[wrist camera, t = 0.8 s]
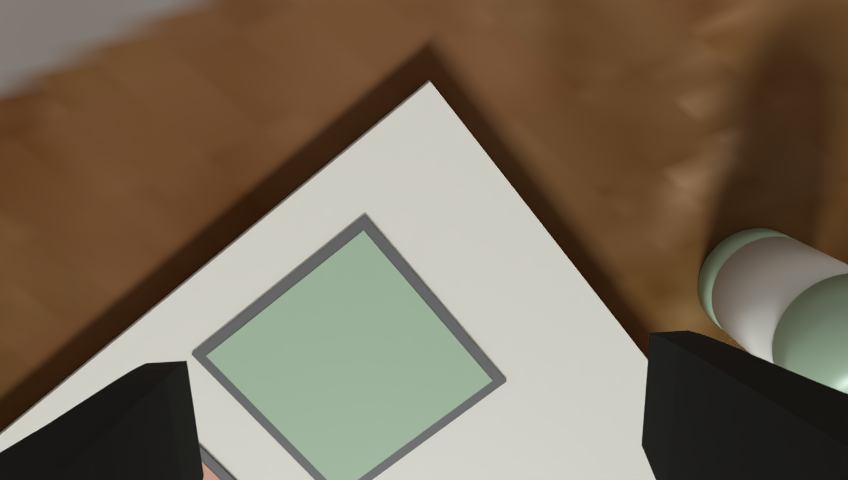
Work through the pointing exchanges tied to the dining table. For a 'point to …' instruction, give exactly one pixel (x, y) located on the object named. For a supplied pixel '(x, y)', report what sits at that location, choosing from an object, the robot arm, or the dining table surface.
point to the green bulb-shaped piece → (780, 302)
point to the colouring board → (392, 330)
